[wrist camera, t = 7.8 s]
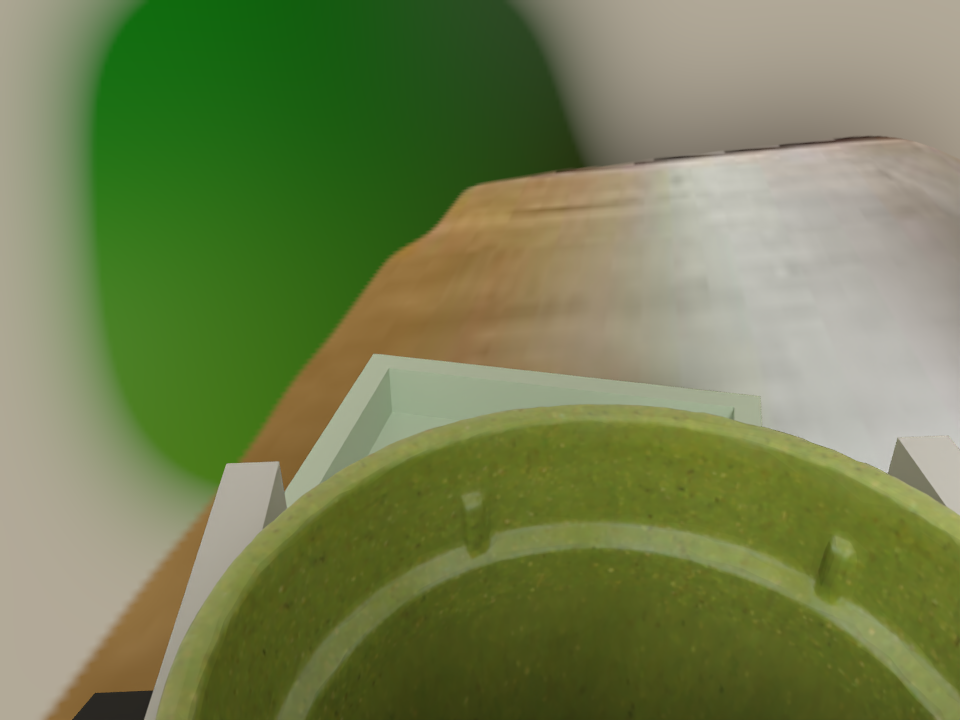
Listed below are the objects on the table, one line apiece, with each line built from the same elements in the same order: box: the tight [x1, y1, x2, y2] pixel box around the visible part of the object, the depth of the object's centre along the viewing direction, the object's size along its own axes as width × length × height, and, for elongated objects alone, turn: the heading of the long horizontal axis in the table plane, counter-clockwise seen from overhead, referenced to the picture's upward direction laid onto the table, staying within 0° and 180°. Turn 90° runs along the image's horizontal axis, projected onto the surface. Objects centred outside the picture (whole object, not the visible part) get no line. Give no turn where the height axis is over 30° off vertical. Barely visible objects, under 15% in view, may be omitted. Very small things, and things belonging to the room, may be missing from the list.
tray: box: [284, 354, 762, 508], centre depth 32 cm, size 16×16×3 cm
